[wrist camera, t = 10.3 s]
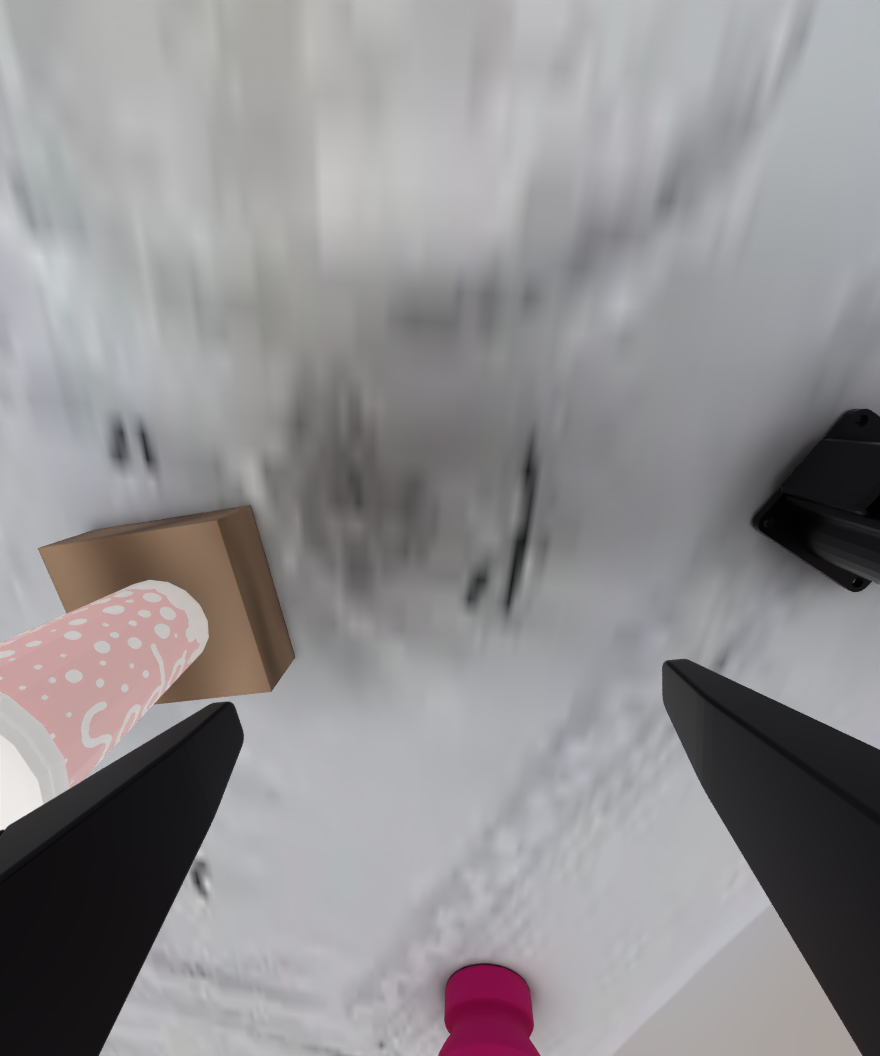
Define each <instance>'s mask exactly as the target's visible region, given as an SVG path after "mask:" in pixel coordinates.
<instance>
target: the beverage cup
mask: <svg viewBox="0 0 880 1056" xmlns="http://www.w3.org/2000/svg"><path fill="white" fill-rule="evenodd" d="M208 638H209V634H208V621H207V619H206V616H205V614H204V612H203V610H202V608H201V606H200V604H199V603H198V602H197V601H196V600H195V599H194V598H193V597H191V596H190V595H189V594H188V593H187V592H186V591H185V590H183V589H181V588H179V587H177V586H175V585H173V584H171V583H169V582H163V581H155V580H147V581H143V582H140V583H136V584H133V585H131V586H128V587H126V588H124V589H122V590H119V591H117V592H115V593H113V594H110V595H108V596H106V597H103V598H101V599H99V600H97V601H94V602H92V603H90V604H88V605H85V606H83V607H81V608H79V609H76V610H74V611H72V612H69V613H67V614H65V615H63V616H60V617H58V618H56V619H54V620H51V621H49V622H47V623H45V624H42V625H40V626H38V627H36V628H33V629H31V630H29V631H26V632H24V633H22V634H20V635H17V636H15V637H13V638H11V639H8V640H6V641H4V642H2V643H0V830H5V829H6V827H7V826H8V825H10V824H12V823H13V822H15V821H17V820H18V819H20V818H22V817H23V816H25V815H27V814H28V813H30V812H32V811H33V810H35V809H37V808H38V807H40V806H42V805H43V804H45V803H47V802H48V801H50V800H52V799H53V798H55V797H57V796H58V795H60V794H62V793H63V792H65V791H66V790H68V789H70V788H71V787H73V786H75V785H76V784H78V783H80V782H81V781H82V780H83V779H84V778H85V777H86V776H87V775H88V774H89V773H90V772H91V771H92V770H93V769H94V768H95V766H96V765H97V764H98V763H99V762H100V761H101V760H102V759H103V758H104V757H105V756H106V755H107V754H108V753H109V751H110V750H111V749H112V748H113V747H114V746H115V745H116V744H117V743H118V742H119V741H120V740H121V739H122V738H123V736H124V735H125V734H126V733H127V732H128V731H129V730H130V729H131V728H132V727H133V726H134V725H135V724H136V723H137V721H138V720H139V719H140V718H141V717H142V716H143V715H144V714H145V713H146V712H147V711H148V710H149V709H150V708H151V706H152V705H153V704H154V703H155V702H156V701H157V700H158V699H159V698H160V697H161V696H162V695H163V694H164V693H165V691H166V690H167V689H168V688H169V687H170V686H171V685H172V684H173V683H174V682H175V681H176V680H177V679H178V678H179V676H180V675H181V674H182V673H183V672H184V671H185V670H186V669H187V668H188V667H189V666H190V665H191V664H192V663H193V661H194V660H195V659H196V658H197V657H198V656H199V655H200V654H201V653H202V652H203V650H204V647H205V645H206V643H207V640H208Z"/></svg>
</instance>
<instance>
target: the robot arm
mask: <svg viewBox="0 0 880 1056" xmlns="http://www.w3.org/2000/svg"><path fill="white" fill-rule="evenodd" d="M857 417H860V421H859V423H858V424H857V425H856V419H857ZM767 519H769V523H768V524H767V525H766V526H764V522H765V521H766V520H767ZM753 527H754V528H755V529H756V530H757V531H758V532H760V533H761V534H763V535H765V536H766V537H768V538H769V539H771V540H772V541H774V542H775V543H777V544H778V545H780V546H781V547H783V548H784V549H786V550H787V551H789V552H790V553H792V554H793V555H795V556H796V557H798V558H799V559H801V560H802V561H804V562H805V563H807V564H808V565H810V566H811V567H813V568H814V569H816V570H817V571H819V572H820V573H822V574H823V575H825V576H826V577H828V578H829V579H831V580H832V581H834V582H835V583H837V584H838V585H840V586H841V587H843V588H845V589H847V590H849V591H852V592H859V591H862V590H863V589H865V588H866V587H867V586H868V585H869V584H870V583H871V582H872V581H873V582H875V583H877V584H880V417H879V416H878V415H877V414H875V413H874V412H872V411H871V410H869V409H853V410H850V411H849V412H847V413H846V414H845V415H844V416H843V417H842V419H841V420H840V421H839V422H838V423H837V424H836V425H835V426H834V428H833V429H832V430H831V431H830V432H829V433H828V434H827V436H826V437H825V438H824V439H823V440H822V441H820V442H819V443H818V444H817V446H816V447H815V448H814V449H813V450H812V451H811V452H810V454H809V455H808V456H807V457H806V458H805V459H804V460H803V461H802V463H801V464H800V465H799V466H798V467H797V468H796V469H795V471H794V472H793V473H792V474H791V475H790V476H789V477H788V478H787V480H786V481H785V482H784V483H783V484H782V487H781V488H780V489H779V490H778V491H777V492H776V493H775V494H774V496H773V497H772V498H771V499H770V500H769V501H768V502H767V504H766V505H765V506H764V507H763V508H762V509H761V510H760V511H759V513H758V514H757V515H756V516H755V518H754V519H753ZM854 579H856V580H855V582H854V583H852V582H853V580H854ZM662 695H663V702H664V706H665V709H666V711H667V713H668V715H669V717H670V719H671V722H672V724H673V726H674V728H675V730H676V732H677V734H678V736H679V739H680V741H681V743H682V745H683V747H684V749H685V751H686V754H687V756H688V758H689V760H690V762H691V764H692V766H693V768H694V771H695V773H696V775H697V777H698V779H699V781H700V783H701V785H702V787H703V789H704V790H705V792H706V794H707V796H708V797H709V799H710V801H711V803H712V804H713V806H714V808H715V809H716V811H717V813H718V814H719V816H720V818H721V819H722V821H723V823H724V824H725V826H726V828H727V829H728V831H729V833H730V834H731V836H732V838H733V839H734V841H735V843H736V844H737V846H738V848H739V849H740V851H741V853H742V855H743V856H744V858H745V860H746V861H747V863H748V865H749V866H750V868H751V870H752V871H753V873H754V875H755V876H756V878H757V880H758V881H759V883H760V885H761V886H762V888H763V890H764V891H765V893H766V895H767V896H768V898H769V900H770V901H771V903H772V905H773V906H774V908H775V910H776V911H777V913H778V915H779V917H780V918H781V920H782V922H783V923H784V925H785V927H786V928H787V930H788V931H789V933H790V935H791V936H792V938H793V940H794V942H795V943H796V945H797V947H798V948H799V950H800V952H801V953H802V955H803V957H804V958H805V960H806V962H807V963H808V965H809V967H810V968H811V970H812V972H813V974H814V975H815V977H816V979H817V980H818V982H819V984H820V985H821V987H822V989H823V990H824V992H825V994H826V995H827V997H828V999H829V1000H830V1002H831V1004H832V1005H833V1007H834V1009H835V1010H836V1012H837V1014H838V1015H839V1017H840V1019H841V1020H842V1022H843V1024H844V1026H845V1027H846V1029H847V1031H848V1032H849V1034H850V1036H851V1037H852V1039H853V1041H854V1042H855V1044H856V1046H857V1047H858V1049H859V1051H860V1052H861V1054H862V1056H880V750H879V749H877V748H875V747H873V746H871V745H868V744H866V743H864V742H862V741H860V740H858V739H856V738H854V737H851V736H849V735H847V734H845V733H843V732H841V731H839V730H837V729H834V728H832V727H830V726H828V725H826V724H824V723H822V722H820V721H817V720H815V719H813V718H811V717H809V716H807V715H805V714H803V713H800V712H798V711H796V710H794V709H792V708H790V707H788V706H786V705H783V704H781V703H779V702H777V701H775V700H773V699H771V698H769V697H766V696H764V695H762V694H760V693H758V692H756V691H754V690H752V689H749V688H747V687H745V686H743V685H741V684H739V683H737V682H735V681H732V680H730V679H728V678H726V677H724V676H722V675H720V674H718V673H715V672H713V671H711V670H709V669H707V668H705V667H703V666H701V665H698V664H696V663H694V662H692V661H690V660H687V659H676V660H667V661H665V662H664V663H663V666H662ZM243 740H244V733H243V729H242V726H241V723H240V720H239V717H238V714H237V711H236V708H235V706H234V704H233V703H231V702H218V703H212V704H210V705H208V706H206V707H205V708H203V709H201V710H200V711H198V712H196V713H195V714H193V715H191V716H190V717H188V718H186V719H185V720H183V721H181V722H180V723H178V724H176V725H175V726H173V727H171V728H170V729H168V730H166V731H165V732H163V733H161V734H160V735H158V736H156V737H155V738H153V739H151V740H150V741H148V742H146V743H145V744H143V745H141V746H140V747H138V748H136V749H135V750H133V751H131V752H130V753H128V754H126V755H125V756H123V757H121V758H120V759H118V760H116V761H115V762H113V763H111V764H110V765H108V766H106V767H105V768H103V769H101V770H100V771H98V772H96V773H95V774H93V775H91V776H90V777H88V778H86V779H85V780H83V781H81V782H80V783H78V784H76V785H75V786H73V787H71V788H70V789H68V790H66V791H65V792H63V793H62V794H60V795H58V796H57V797H55V798H53V799H52V800H50V801H48V802H47V803H45V804H43V805H42V806H40V807H38V808H37V809H35V810H33V811H32V812H30V813H28V814H27V815H25V816H23V817H22V818H20V819H18V820H17V821H15V822H13V823H12V824H10V825H8V826H7V827H6V829H5V830H0V1056H99V1054H100V1052H101V1050H102V1048H103V1046H104V1044H105V1042H106V1040H107V1038H108V1036H109V1034H110V1031H111V1029H112V1027H113V1025H114V1023H115V1021H116V1019H117V1017H118V1015H119V1013H120V1011H121V1009H122V1007H123V1005H124V1003H125V1001H126V999H127V997H128V995H129V992H130V990H131V988H132V986H133V984H134V982H135V980H136V978H137V976H138V974H139V972H140V970H141V968H142V966H143V964H144V962H145V960H146V958H147V955H148V953H149V951H150V949H151V947H152V945H153V943H154V941H155V939H156V937H157V935H158V933H159V931H160V929H161V927H162V925H163V923H164V921H165V918H166V916H167V914H168V912H169V910H170V908H171V906H172V904H173V902H174V900H175V898H176V896H177V894H178V892H179V890H180V888H181V886H182V884H183V881H184V879H185V877H186V875H187V873H188V871H189V869H190V867H191V865H192V863H193V861H194V859H195V857H196V855H197V853H198V851H199V849H200V847H201V844H202V842H203V840H204V838H205V836H206V834H207V832H208V830H209V828H210V826H211V823H212V821H213V819H214V817H215V814H216V812H217V809H218V807H219V805H220V802H221V799H222V797H223V794H224V792H225V789H226V786H227V784H228V781H229V779H230V776H231V774H232V771H233V768H234V766H235V763H236V761H237V758H238V755H239V753H240V750H241V748H242V745H243Z"/></svg>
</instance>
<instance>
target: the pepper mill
mask: <svg viewBox="0 0 880 1056" xmlns="http://www.w3.org/2000/svg"><path fill="white" fill-rule="evenodd" d="M444 1020H445V1025H446V1028H447V1030H448V1032H449V1033H450V1036H449V1037H448V1039H447V1040H446V1042H445V1043H444V1045H443V1047H442V1049H441V1050H440V1052H439V1055H438V1056H540V1054H539V1053H538V1051H537V1049H536V1048H535V1046H534V1045H533V1043H532V1042H531V1041H530V1039H529V1037H530V1035H531V1033H532V1031H533V1027H534V1022H533V1013H532V1004H531V996H530V991H529V988H528V986H527V985H526V983H525V982H524V981H523V979H522V978H521V977H520V976H519V975H517V974H515V973H514V972H512V971H510V970H508V969H505V968H503V967H499V966H494V965H475V966H470V967H467V968H464V969H462V970H460V971H458V972H457V973H455V974H454V975H453V976H452V977H451V978H450V980H449V981H448V983H447V986H446V991H445V1017H444Z"/></svg>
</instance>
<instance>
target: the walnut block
mask: <svg viewBox="0 0 880 1056" xmlns="http://www.w3.org/2000/svg"><path fill="white" fill-rule="evenodd" d="M38 550H39V553H40V555H41V557H42V559H43V562H44V564H45V566H46V568H47V570H48V573H49V575H50V577H51V579H52V582H53V584H54V586H55V588H56V591H57V593H58V595H59V597H60V600H61V602H62V604H63V606H64V609H65V611H66V613H69V612H72V611H74V610H76V609H79V608H81V607H83V606H85V605H88V604H90V603H92V602H94V601H97V600H99V599H101V598H103V597H106V596H108V595H110V594H113V593H115V592H117V591H119V590H122V589H124V588H126V587H128V586H131V585H133V584H136V583H140V582H143V581H147V580H155V581H163V582H169V583H171V584H173V585H175V586H177V587H179V588H181V589H183V590H185V591H186V592H187V593H188V594H189V595H190V596H191V597H193V598H194V599H195V600H196V601H197V602H198V603H199V604H200V606H201V608H202V610H203V612H204V614H205V616H206V619H207V621H208V634H209V638H208V640H207V643H206V645H205V647H204V650H203V652H202V653H201V654H200V655H199V656H198V657H197V658H196V659H195V660H194V661H193V663H192V664H191V665H190V666H189V667H188V668H187V669H186V670H185V671H184V672H183V673H182V674H181V675H180V676H179V678H178V679H177V680H176V681H175V682H174V683H173V684H172V685H171V686H170V687H169V688H168V689H167V690H166V691H165V693H164V694H163V695H162V696H161V697H160V698H159V699H158V700H157V701H156V702H155V703H154V704H163V703H172V702H181V701H190V700H199V699H208V698H218V697H227V696H236V695H245V694H254V693H263V692H272V690H273V689H274V687H275V686H276V684H277V683H278V681H279V680H280V678H281V677H282V676H283V674H284V673H285V671H286V670H287V668H288V667H289V665H290V664H291V662H292V661H293V659H294V658H295V656H294V652H293V649H292V646H291V642H290V639H289V635H288V632H287V629H286V625H285V622H284V618H283V615H282V612H281V608H280V605H279V602H278V598H277V595H276V591H275V588H274V585H273V581H272V578H271V574H270V571H269V568H268V564H267V561H266V557H265V554H264V551H263V547H262V544H261V540H260V537H259V534H258V530H257V527H256V523H255V520H254V517H253V513H252V510H251V506H244V507H238V508H231V509H225V510H219V511H212V512H206V513H200V514H193V515H187V516H180V517H174V518H168V519H161V520H155V521H149V522H142V523H136V524H130V525H123V526H117V527H111V528H104V529H98V530H92V531H89V532H86V533H83V534H80V535H77V536H74V537H71V538H68V539H65V540H62V541H59V542H55V543H52V544H49V545H46V546H43V547H40V548H38ZM154 704H153V705H154Z"/></svg>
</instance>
